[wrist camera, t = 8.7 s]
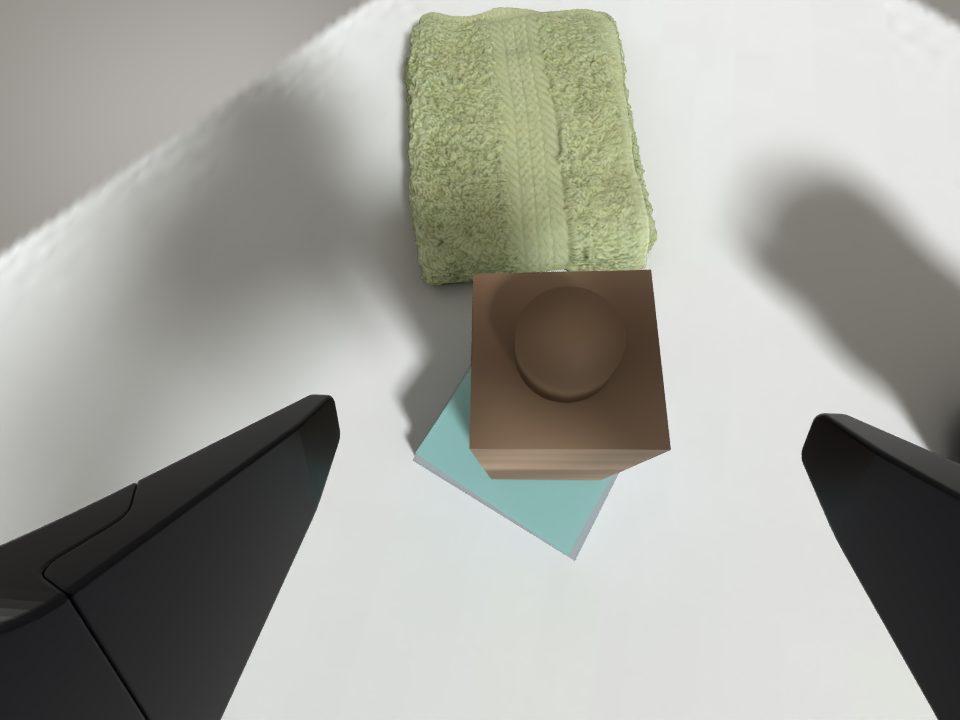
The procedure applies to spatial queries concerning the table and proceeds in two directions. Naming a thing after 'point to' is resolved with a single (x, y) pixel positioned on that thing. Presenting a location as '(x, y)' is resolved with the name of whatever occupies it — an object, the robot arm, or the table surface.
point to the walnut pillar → (565, 374)
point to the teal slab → (531, 503)
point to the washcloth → (523, 146)
